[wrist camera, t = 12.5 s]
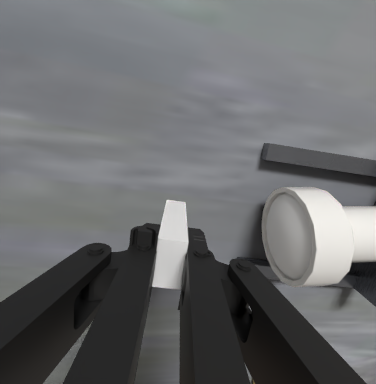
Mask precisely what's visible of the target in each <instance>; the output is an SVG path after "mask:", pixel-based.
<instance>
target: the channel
mask: <svg viewBox="0 0 376 384" xmlns="http://www.w3.org/2000/svg"><path fill="white" fill-rule="evenodd" d="M261 159H264V160H270V161H276V162H283V163H289V164H296V165H302V166H309V167H315V168H322V169H328V170H335V171H341V172H348V173H354V174H361V175H367V176H374V177H376V160H369V159H363V158H357V157H351V156H345V155H338V154H332V153H326V152H320V151H313V150H307V149H301V148H295V147H289V146H282V145H276V144H270V143H264V147H263V151H262V155H261ZM374 206H376V202H375V205H374ZM237 259H245V260H247V261H249V262H251V263H252V264H254V265H255V266H256V267H257V268H258V269H259V270H260V271H261V272H262V273H263V275H264V276H265V277H266V278H267V279H273V280H280V279H279V278H278V276H277V275H276V274H275V273H274V271H273V270H272V268H271V266H270V263H269V261H267V260H258V259H249V258H240V257H237ZM331 286H340V287H350V288H354V289H355V290H357V291H358V292H359V293H360V294H361V295H363V296H364V297H365V298H366V299H367V300H369V301H370V302H371V303H372V304H373V305H374V306H376V262H353V263H352V264H351V267H350V270H349V272H348V273H347V274H346V275H345V276H344V277H343V278H342V280H341V281H340V282H339V283H336V284H331Z"/></svg>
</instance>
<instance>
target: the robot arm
mask: <svg viewBox="0 0 376 384" xmlns="http://www.w3.org/2000/svg"><path fill="white" fill-rule="evenodd" d="M181 284H182V289H181ZM152 287H160V288H169V289H179V290H181V295H180V301H179V307H178V310H180V384H250V381H249V377H248V374H247V370H246V367H245V364H246V366H247V368H248V370H249V372H250V374H251V376H252V378H253V380H254V382H255V384H366V383H365V382H364V380H363V379H362V378H361V377H360V376H359V375H358V374H357V373H356V372H355V371H354V370H353V369H352V368H351V367H350V366H349V365H348V364H347V362H346V361H345V360H344V359H343V358H342V357H341V356H340V355H339V354H338V353H337V352H336V351H335V350H334V349H333V348H332V347H331V345H330V344H329V343H328V342H327V341H326V340H325V339H324V338H323V337H322V336H321V335H320V334H319V333H318V332H317V331H316V330H315V329H314V327H313V326H312V325H311V324H310V323H309V322H308V321H307V320H306V319H305V318H304V317H303V316H302V315H301V314H300V313H299V312H298V311H297V309H296V308H295V307H294V306H293V305H292V304H291V303H290V302H289V301H288V300H287V299H286V298H285V297H284V296H283V295H282V294H281V293H280V291H279V290H278V289H277V288H276V287H275V286H274V285H273V284H272V283H271V282H270V281H269V280H268V279H267V278H266V277H265V276H264V275H263V273H262V272H261V271H260V270H259V269H258V268H257V267H256V266H255V265H254V264H252V263H251V262H249V261H247V260H245V259H232V260H231V261H230V264H229V265H227V264H224V263H221V262H218V261H216V260H215V258H214V255H213V253H212V252H211V251H209V250H208V247H207V243H206V239H205V235H204V233H203V232H202V231H201V230H200V229H195V228H187V216H186V203H185V202H179V201H172V200H167V201H166V205H165V210H164V214H163V218H162V222H161V225H158V224H150V223H146V224H144V225H143V226H137V227H134V228H133V229H131V234H130V245H129V248H128V250H125V251H121V252H111V247H110V246H109V245H106V244H102V243H93V244H89V245H86V246H84V247H82V248H81V249H79V250H78V251H76V252H75V253H73V254H72V255H70V256H69V257H67V258H66V259H64V260H63V261H61V262H60V263H58V264H57V265H55V266H54V267H52V268H51V269H49V270H48V271H46V272H45V273H43V274H42V275H40V276H39V277H37V278H36V279H35V280H33V281H32V282H30V283H29V284H27V285H26V286H24V287H23V288H21V289H20V290H18V291H17V292H15V293H14V294H12V295H11V296H9V297H8V298H6V299H5V300H3V301H2V302H0V384H43V382H44V381H45V380H46V378H47V377H48V376H49V375H50V373H51V372H52V371H53V370H54V368H55V367H56V366H57V365H58V363H59V362H60V361H61V360H62V358H63V357H64V356H65V355H66V353H67V352H68V351H69V350H70V348H71V347H72V346H73V345H74V343H75V342H76V341H77V340H78V338H79V337H80V336H81V335H82V333H83V332H84V331H85V330H86V328H87V327H88V326H89V325H90V323H91V322H92V321H93V322H92V324H91V326H90V328H89V331H88V333H87V335H86V337H85V339H84V341H83V343H82V345H81V347H80V349H79V351H78V353H77V355H76V357H75V360H74V362H73V364H72V366H71V368H70V370H69V372H68V374H67V376H66V378H65V380H64V382H63V384H134V380H135V375H136V370H137V365H138V359H139V354H140V349H141V344H142V338H143V333H144V328H145V323H146V317H147V312H148V307H149V302H150V296H151V289H152ZM249 306H250V308H251V310H252V311H251V310H250V309H249ZM244 362H245V363H244Z"/></svg>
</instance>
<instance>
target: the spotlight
mask: <svg viewBox="0 0 376 384" xmlns="http://www.w3.org/2000/svg"><path fill="white" fill-rule="evenodd" d="M261 226H262V240H263V245H264V249H265V253H266V257H267V259H268V261H269V263H270V266H271V268H272V270H273V271H274V273H275V274H276V275H277V276H278V278H279V279H280V280H281V281H282V282H283V283H285V284H287V285H289V286H291V287H309V286H326V285H331V284H336V283H339V282H340V281H341V280H342V278H343V277H344V276H345V275H346V274H347V273H348V272H349V270H350V266H351V263H353V262H376V206H342V205H341V204H340V203H339V202H338V201H337V200H336V199H335V198H334V197H333V196H332V195H331V194H329V193H328V192H327V191H324V190H321V189H318V188H315V187H282V188H279V189H276V190H274V191H273V192H272V194H271V195H270V196H269V197H268V198H267V201H266V204H265V207H264V209H263V216H262V225H261Z"/></svg>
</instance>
